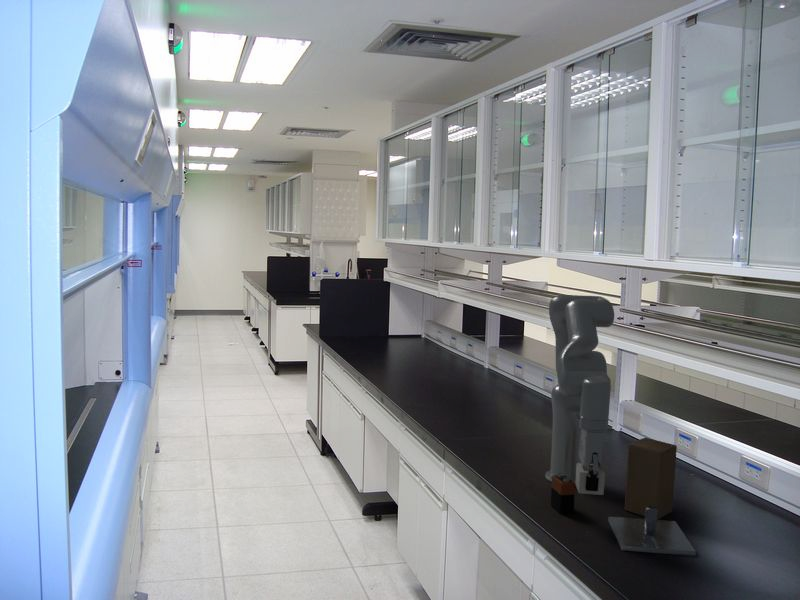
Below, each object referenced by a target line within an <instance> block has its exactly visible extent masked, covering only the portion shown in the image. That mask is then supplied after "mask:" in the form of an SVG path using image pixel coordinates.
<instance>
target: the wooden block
mask: <svg viewBox="0 0 800 600" xmlns="http://www.w3.org/2000/svg"><path fill="white" fill-rule="evenodd" d="M677 448H678V446H677V445H676V444H673V443H669V442H665V441H661V440H657V439H652V438H648V437H643V438H640V439H638V440H636V441H633V442H630V443H628V449H627V450H628V451H627V465H626V480H625V481H626V482H625V496H624V498H625V499H624V510H625V511H627V512H630V513H632V514H633V513H634V514H635V515H638V516H642V517H643V518H645V508H646V506H653V507H656V508H657V509H658V510H657V520H661V519H662V518H663V517H665V516H667V515H669V514H670V513H672V512H673V503H674V493H675V492H674V489H675V475H676V474H675V473H676V464H677V463H676V462H677V451H678V449H677Z"/></svg>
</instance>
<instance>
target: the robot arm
mask: <svg viewBox="0 0 800 600" xmlns="http://www.w3.org/2000/svg"><path fill="white" fill-rule="evenodd" d="M548 313H549V314H548V315H549V320H550V324H551V327H552V329H553V333H554V335H555V337H554V339H555V371H556V374H557V383H558V384H557V385H555V386H554V387H553V388H552V390H551V393H550V395H551V397H550V398H551V406H552V407H551V408H552V435H551V455H550V456H551V457H550V469H549V470H547V471H546V472H545V475H544V476H545V479H546V480H547V481H549V482H551V483H552V476H554V475H558V473H564V474H565V475H566V476H567V477H568V478H569V479H571V480H572V481H573V482H575V480H576V465H577V463H582V464H583V466H585V467H586V466H588V476H586V490H587V491H598V482H599V467H601V466H602V465H603V456H604V455H603V454H604V435H605V434H604V433H605V432H608V430H609V417H610V415H609V414H610V403H611V402H610V401H611V392H612V391H611V387H612V384H611V383H612V382H611V377H610V376H609V375H608V367H607V366H608V364H607V360H606V357H605V355H604V354H603V352H600V351H598V350H595V349H596V348H597V347H598V346H599V336H598V331H597V328H609V327H611V326H612V325H613V324H614V321H615V310H614V307H613V305H612V303H611V301H610V300H608V299H607V298H605V297H603V296H598V295H578V294H577V295H576V294H575V295H574V294H562V295H561V294H560V295H556V296H554V297H552V298H551V299H550V301H549V306H548ZM576 415H579V419H578V418H577V416H576ZM590 464H593V465H590ZM590 468H593V470H591V471H590ZM575 487H576V484H575Z"/></svg>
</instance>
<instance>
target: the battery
mask: <svg viewBox="0 0 800 600" xmlns="http://www.w3.org/2000/svg"><path fill="white" fill-rule="evenodd" d="M550 489H551V490H550V492H551V493H550V505H551V507H553V509H554V510H556V511H557V512H558V513H559V514H560V515H563V514H566V515H567V514H573V513H574V512H575V511H574V510H575V497H576V496H575V494H576V486H575V482H573V481H572V480H571V479H569V478H568V477H567V476H566V475H565V474H564V473H558V475H554V476H552V482H551V488H550Z"/></svg>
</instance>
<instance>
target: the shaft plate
mask: <svg viewBox="0 0 800 600" xmlns="http://www.w3.org/2000/svg"><path fill="white" fill-rule="evenodd" d="M657 510H658V509H657V508H656V507H653V506H646V508H645V517H644V518H637V517H635V518H633V517H620V516H619V517H618V516H608V519H607V521H608V523H609V525H610V527H611V529H612V532H613V534H614V536H615V538H616V540H617V543H618V545H619V547H620V549H621V551H626V552H627V551H629V552H638V553H641V552H642V553H643V552H644V553H651V554H652V553H654V554H669V555H680V556H693V557H694V556H696V554H697V552H696V549H695V547H694V546H693V545H692V543H691V542H690V540H689V538H687V536H686V535H685V533H684V532H683V530H682V529H681V527H680V526H679V524H678V523H677V522H676V520H663V519H658V520H657Z"/></svg>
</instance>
